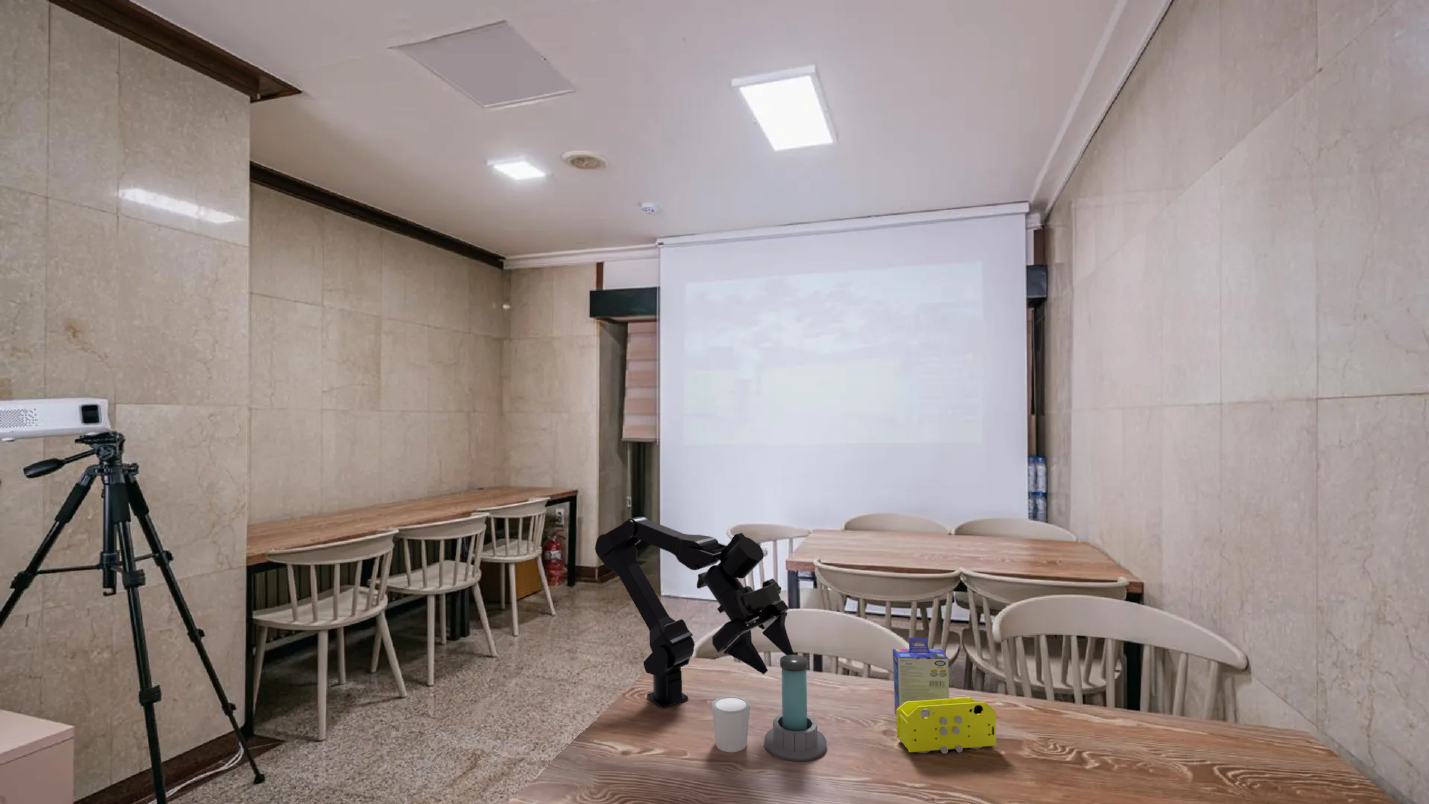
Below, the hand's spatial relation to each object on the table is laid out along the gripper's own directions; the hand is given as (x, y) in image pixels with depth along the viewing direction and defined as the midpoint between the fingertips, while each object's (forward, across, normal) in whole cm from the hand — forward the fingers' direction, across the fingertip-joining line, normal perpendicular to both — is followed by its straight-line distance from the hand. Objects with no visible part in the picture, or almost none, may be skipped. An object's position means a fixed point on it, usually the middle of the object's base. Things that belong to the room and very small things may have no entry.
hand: (779, 664), depth 110 cm
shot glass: (+5, -6, +14) cm, 16 cm away
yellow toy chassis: (+27, +16, -8) cm, 32 cm away
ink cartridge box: (+22, +24, -3) cm, 33 cm away
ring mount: (+12, 0, +7) cm, 14 cm away
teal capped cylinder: (+11, 0, +7) cm, 13 cm away
